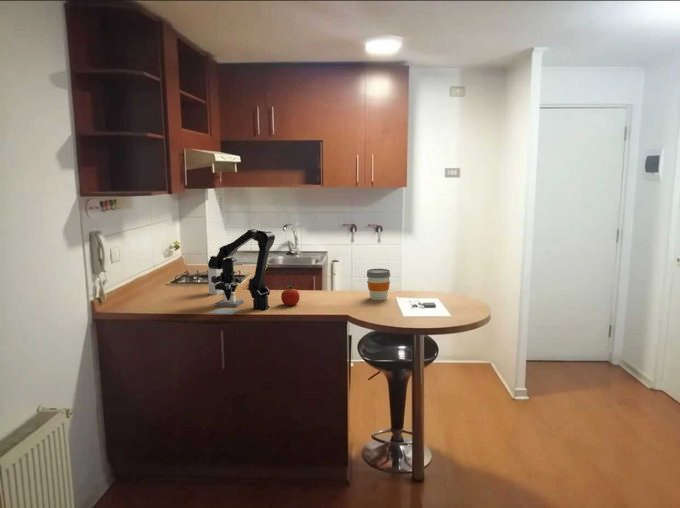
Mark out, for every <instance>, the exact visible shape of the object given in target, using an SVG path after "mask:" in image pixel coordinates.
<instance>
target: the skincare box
mask: <svg viewBox="0 0 680 508" xmlns="http://www.w3.org/2000/svg"><path fill="white" fill-rule="evenodd" d="M221 272H222V269H210V268H209V267H207V275H208V277H207V280H208V292H209V295H216V296H217V295H223V292H224V291H223V290H215V285H216V284H218V283H220V282H218V283H216V284H214V283H213V282H211V277H212V276H220V273H221Z"/></svg>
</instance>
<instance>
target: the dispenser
mask: <svg viewBox="0 0 680 508" xmlns="http://www.w3.org/2000/svg"><path fill="white" fill-rule="evenodd" d="M244 301H245V300H244V299H236V302H223V298H222V299H221V300H219V301H217V302H215V307H224V308H225V307H228V308H238V307H240V306H241V305H243V304H244Z"/></svg>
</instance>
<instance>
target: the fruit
mask: <svg viewBox="0 0 680 508" xmlns="http://www.w3.org/2000/svg"><path fill="white" fill-rule="evenodd" d="M286 287H287V288H288V289H286V288H285V289H284V290H283V291H282V293H281V297H280V299H281V301H282V303H283V304H284V305H285V306H289V307H290V306H291V307H292V306H296V305H297V304H298V303H299V301H300V293H299V291H298V289H295V288H293V285H287V286H286Z"/></svg>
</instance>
